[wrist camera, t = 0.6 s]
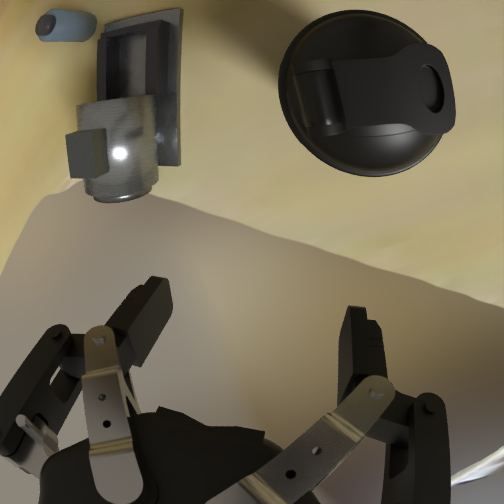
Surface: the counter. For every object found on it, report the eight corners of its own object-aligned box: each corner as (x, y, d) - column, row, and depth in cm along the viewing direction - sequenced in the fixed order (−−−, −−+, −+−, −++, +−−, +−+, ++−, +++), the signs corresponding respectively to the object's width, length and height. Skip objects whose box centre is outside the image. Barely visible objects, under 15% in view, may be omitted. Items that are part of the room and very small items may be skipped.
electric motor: (109, 25, 30) (43, 18, 19) (183, 9, 28) (126, -16, 17) (112, 176, 42) (55, 210, 31) (181, 179, 40) (130, 218, 29)
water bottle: (389, 128, 31) (482, 186, 12) (308, 139, 34) (295, 208, 15) (372, 48, 27) (450, -6, 7) (289, 60, 30) (244, 11, 10)
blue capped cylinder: (74, 18, 29) (33, 15, 21) (98, 9, 28) (55, 3, 21) (73, 45, 32) (30, 46, 24) (95, 37, 31) (52, 35, 23)
